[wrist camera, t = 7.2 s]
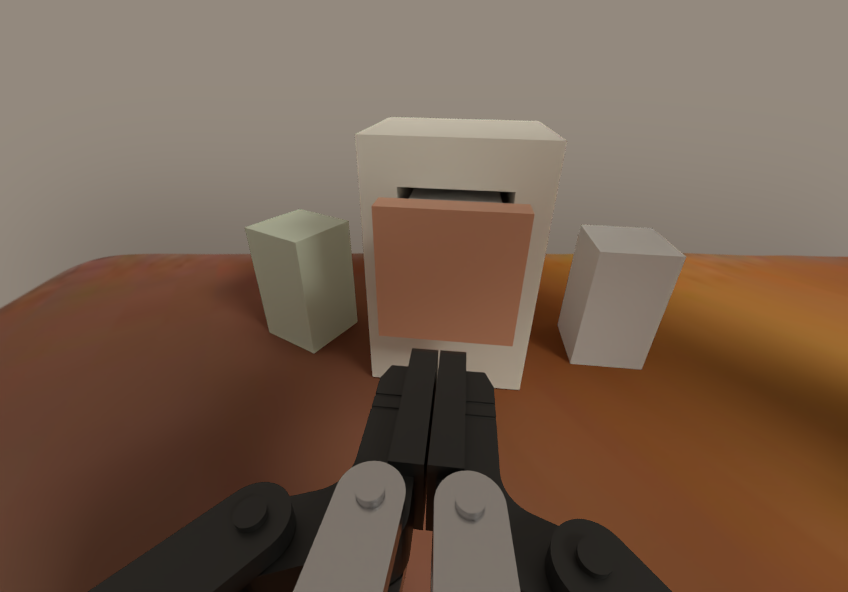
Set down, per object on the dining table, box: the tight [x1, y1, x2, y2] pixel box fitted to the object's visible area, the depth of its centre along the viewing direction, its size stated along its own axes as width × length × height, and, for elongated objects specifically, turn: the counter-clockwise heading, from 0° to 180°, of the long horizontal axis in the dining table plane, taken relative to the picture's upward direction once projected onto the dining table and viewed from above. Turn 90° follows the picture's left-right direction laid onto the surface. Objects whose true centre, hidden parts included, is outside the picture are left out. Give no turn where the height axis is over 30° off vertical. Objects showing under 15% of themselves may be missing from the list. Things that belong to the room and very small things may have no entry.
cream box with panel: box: [355, 117, 567, 390], centre depth 23 cm, size 8×9×14 cm
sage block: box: [245, 209, 358, 353], centre depth 26 cm, size 4×4×8 cm
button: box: [371, 188, 535, 346], centre depth 19 cm, size 9×6×6 cm, turn 173°
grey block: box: [558, 225, 686, 370], centre depth 25 cm, size 4×4×8 cm
